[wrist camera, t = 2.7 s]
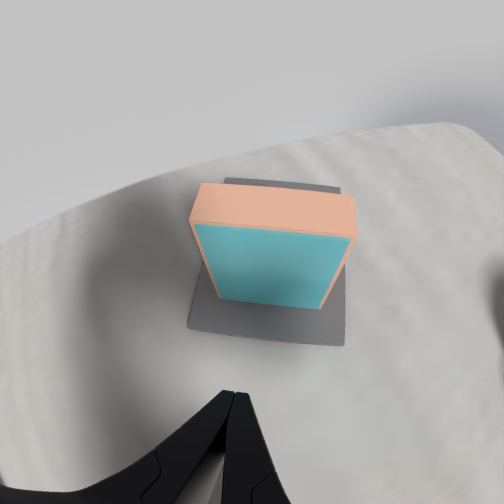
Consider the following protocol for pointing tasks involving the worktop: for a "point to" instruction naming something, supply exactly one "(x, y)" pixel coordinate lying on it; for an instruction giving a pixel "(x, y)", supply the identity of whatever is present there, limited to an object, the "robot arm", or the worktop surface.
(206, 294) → the mat
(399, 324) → the worktop surface
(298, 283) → the pink and teal block
